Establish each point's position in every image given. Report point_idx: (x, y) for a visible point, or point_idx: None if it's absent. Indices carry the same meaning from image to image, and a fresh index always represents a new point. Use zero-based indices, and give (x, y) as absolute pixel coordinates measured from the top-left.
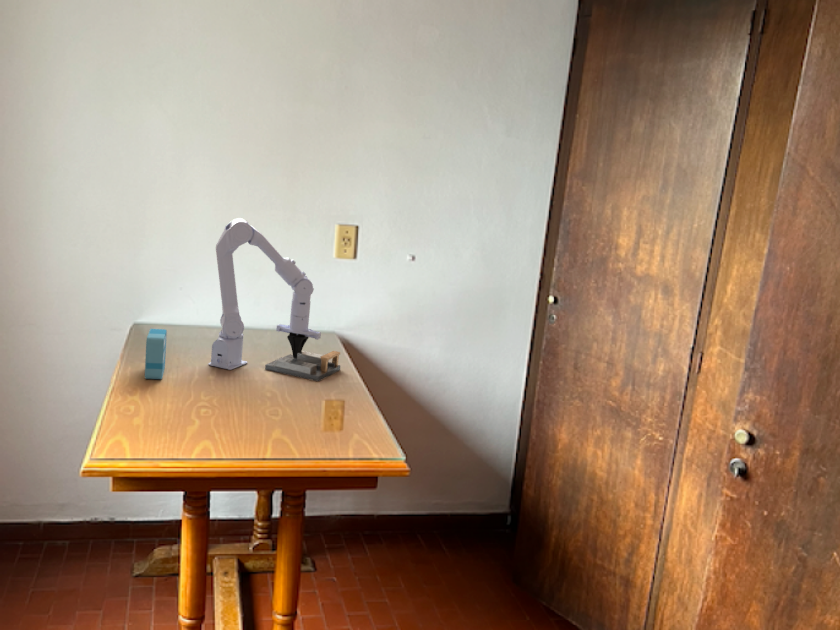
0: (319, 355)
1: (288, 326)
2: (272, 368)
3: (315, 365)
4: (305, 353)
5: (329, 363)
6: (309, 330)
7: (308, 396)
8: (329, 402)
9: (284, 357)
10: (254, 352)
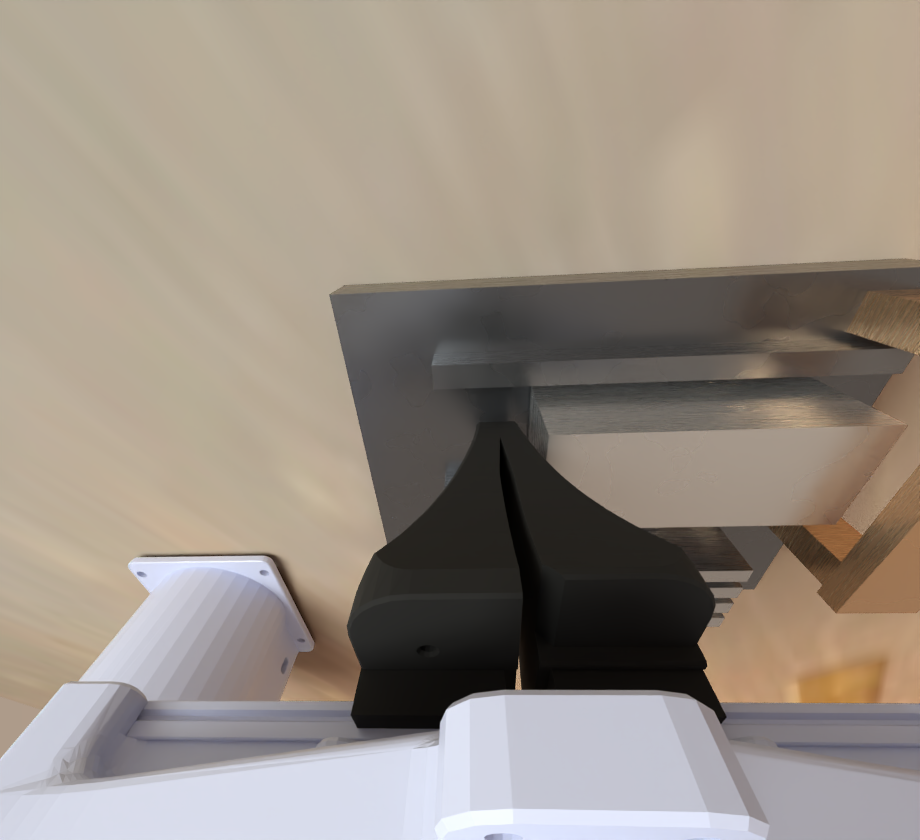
0: (780, 468)
1: (153, 834)
2: None
3: (744, 581)
4: (613, 499)
5: (841, 372)
6: (863, 829)
7: (724, 681)
8: (816, 686)
9: (371, 418)
10: (33, 338)
